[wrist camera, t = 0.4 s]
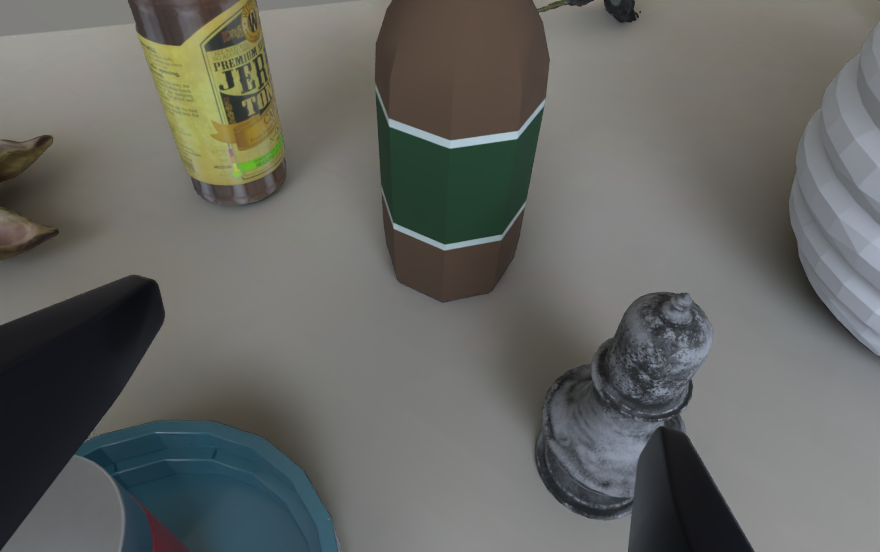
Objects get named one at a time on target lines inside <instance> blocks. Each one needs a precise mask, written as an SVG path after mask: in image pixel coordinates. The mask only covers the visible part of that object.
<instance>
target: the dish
mask: <svg viewBox="0 0 880 552" xmlns="http://www.w3.org/2000/svg"><path fill="white" fill-rule="evenodd" d="M74 455H77V456H81V457H84V458H87V459H89V460H91V461H93V462H95V463H97V464H98V465H99V466H101V467H102V468H104V469H105V470H106V471H107V472H108V473H109V474H110V475H111V476H112V477H113V478H114V479H115V480H116V481H117V482H118V483H119V484H120V485H121V486H122V487H123V488H124V489H125V490H126V491H128V492H129V493H130V494H132V495H133V496H134V497H135V498H136V499H137V500H138V501H139V502H140V503H141V504H143V505H144V506H145V507H146V508H147V509H148V510H149V511H150V512H151V513H152V514H153V515H154V516H155V517H156V518H157V519H158V520H159V521H160V522H161V523H162V524H163V525H164V526H165V527H166V528H167V529H168V530H169V531H170V532H171V533H172V534H173V535H174V536H175V537H176V538H177V539H178V540H179V541H180V542H181V543H182V544H183V545H184V546H186V547H187V548H188V549H189V550H190V551H191V552H342V550H341V545H340V541H339V538H338V535H337V533H336V530H335V527H334V524H333V521H332V518H331V516H330V514H329V512H328V511H327V509H326V507H325V506H324V504H323V502H322V500H321V499H320V497H319V495H318V494H317V492H316V490H315V488H314V487H313V485H312V483H311V482H310V480H309V478H308V476H307V475H306V473H305V471H304V470H303V469H302V468H301V467H300V466H298V465H297V464H296V463H295V462H293V461H292V460H291V459H290V458H288V457H287V456H286V455H285V454H283V453H282V452H281V451H280V450H278V449H277V448H276V447H275V446H274V445H272V444H271V443H270V442H269V441H267V440H266V439H265V438H262V437H261V436H258V435H255V434H252V433H249V432H246V431H243V430H240V429H237V428H234V427H231V426H228V425H225V424H222V423H219V422H216V421H195V420H159V421H153V422H149V423H145V424H141V425H137V426H133V427H129V428H125V429H121V430H117V431H114V432H110V433H106V434H102V435H99V436H96V437H94V438H92V439H90V440H88V441H86V442H84V443H83V444H82V445H81V446H80V448H79V449H78V450H77V452H76V453H75V454H74Z"/></svg>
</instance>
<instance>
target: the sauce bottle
mask: <svg viewBox="0 0 880 552" xmlns="http://www.w3.org/2000/svg"><path fill="white" fill-rule="evenodd" d="M128 3H129V5H130V8H131V10H132V13H133V16H134V19H135V22H136V31H137V34H138V37H139V40H140V43H141V45H142V48H143V51H144V54H145V57H146V60H147V62H148V65H149V68H150V71H151V74H152V76H153V79H154V82H155V85H156V88H157V90H158V93H159V96H160V99H161V102H162V104H163V107H164V110H165V113H166V116H167V119H168V121H169V124H170V127H171V130H172V133H173V136H174V139H175V142H176V145H177V147H178V150H179V153H180V156H181V159H182V161H183V164H184V167H185V169H186V171H187V172H188V173H189V175H191V179H192V182H193V185H194V188H195V190H196V192H197V193H198V195H200V196H201V197H202V198H203V199H205V200H208V201H210V202H213V203H215V204H218V205H232V206H238V205H246V204H248V203H253V202H256V201H260V200H262V199H264V198H265V197H267V196H268V195H270V194H271V193H273V192H274V191H275V190H276V189H278V188H279V187H280V186H281V185H282V184H283V182H284V180H285V176H286V163H285V159H284V154H285V146H284V141H283V136H282V131H281V126H280V121H279V116H278V111H277V106H276V101H275V96H274V90H273V84H272V79H271V74H270V70H269V63H268V59H267V54H266V48H265V43H264V38H263V33H262V28H261V22H260V18H259V12H258V7H257V2H256V0H128Z"/></svg>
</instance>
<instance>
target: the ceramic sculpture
mask: <svg viewBox="0 0 880 552" xmlns="http://www.w3.org/2000/svg"><path fill="white" fill-rule="evenodd" d="M52 143H53V136H52V135H44V136H39V137H36V138H33V139H31V140H28V141H25V142H15V141H11V140H0V182H4V181H7V180H10V179H12V178H15V177H16V176H18V175H19V174H20V173H22V172H23V171H24V170H26V169H27V168H28V167H29V166H30V165H31V164H33V163H34V162H35V161H36V160H37V159H38V158H39V157H40V155H41V154H42V153H43V152H44V151H45V150H46V149H47V148H48V147H49V146H50V145H51V144H52ZM58 233H59V229H57V228H53V227H48V226H43V225H40V224H38V223H36V222H34V221H32V220H30V219H27V218H25V217H23V216H22V215H20V214H19V213H17V212H15V211H13V210H10V209H8V208H4V207H0V260H2V259H5V258H9V257H12V256H15V255H17V254H20V253H22V252H25V251H27V250H29V249H31V248H33V247H35V246H37V245H39V244H41V243H43V242H45V241H47V240H48V239H50V238H52V237H54V236H56V235H57V234H58Z"/></svg>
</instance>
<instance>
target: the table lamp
mask: <svg viewBox="0 0 880 552" xmlns="http://www.w3.org/2000/svg"><path fill="white" fill-rule="evenodd" d="M796 166H797V171H796V174H795V177H794V181H793V185H792V189H791V194H790V199H789V212H790V220H791V225H792V228H793V231H794V233H795V236H796V239H797V245H798V253H799V258H800V260H801V263H802V265H803V268H804V270H805V272H806V275H807V277H808V280H809V282H810V283H811V285H812V286H813V288H814V290H815V291H816V293H817V295H818V296H819V297H820V299H821V300H822V301H823V302H824V304H825V305H826V306H827V307H828V308H829V310H830V311H831V312H832V313H833V314H834V316H835V317H836V318H837V319H838V320H839V321H840V322H841V323H842V324H843V325H844V326H845V327H846V328H847V329H848V330H849V331H850V332H851V333H852V334H853V335H854V336H855V337H856V338H857V339H858V340H859V341H860V342H861V343H863V344H864V345H865V346H867V347H868V348H869V349H870V350H871V351H872V352H873V353H875V354H876V355H878V356H879V357H880V22H879V23H878V24H877V25H876V26H875V28H874V29H873V30H872V31H871V33H870V34H869V36H868V37H867V39H866V41H865V42H864V44H863V46H862V49H861V52H860V53H859V54H858V55H856V56H855V57H854V58H852V59H851V60H850V61H848V62H847V63H846V64H845V66H844V67H843V68H842V69H841V70H840V72H839V73H838V74H837V75H836V76H835V77H834V79H833V80H832V81H831V83H830V84H829V86H828V87H827V89H826V90H825V92H824V96H823V101H822V106H821V107H820V108H819V109H818V110H817V112H816V113H815V114H814V115H813V116H812V117H811V119H810V121H809V123H808V125H807V127H806V129H805V131H804V133H803V135H802V137H801V139H800V141H799V144H798V150H797V155H796Z"/></svg>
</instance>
